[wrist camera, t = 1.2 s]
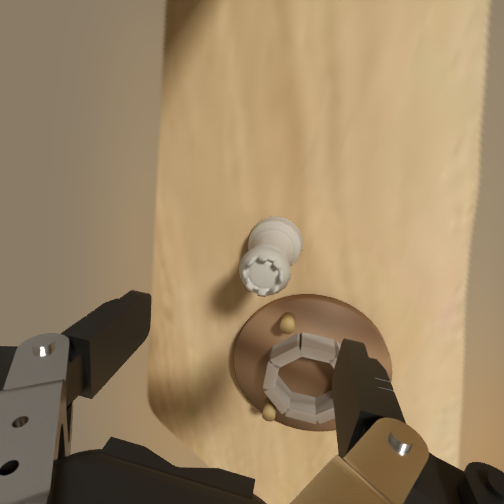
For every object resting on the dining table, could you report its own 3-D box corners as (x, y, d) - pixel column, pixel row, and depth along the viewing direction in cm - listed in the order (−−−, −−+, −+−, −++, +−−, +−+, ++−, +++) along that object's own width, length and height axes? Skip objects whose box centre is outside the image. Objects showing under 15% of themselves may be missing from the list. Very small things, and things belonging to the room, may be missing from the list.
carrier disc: (246, 279, 26) (238, 295, 23) (409, 313, 25) (423, 335, 22) (228, 400, 31) (220, 426, 28) (365, 436, 29) (371, 468, 26)
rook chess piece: (312, 251, 25) (314, 292, 17) (267, 274, 26) (250, 322, 19) (285, 205, 24) (275, 226, 16) (240, 231, 25) (211, 262, 18)
